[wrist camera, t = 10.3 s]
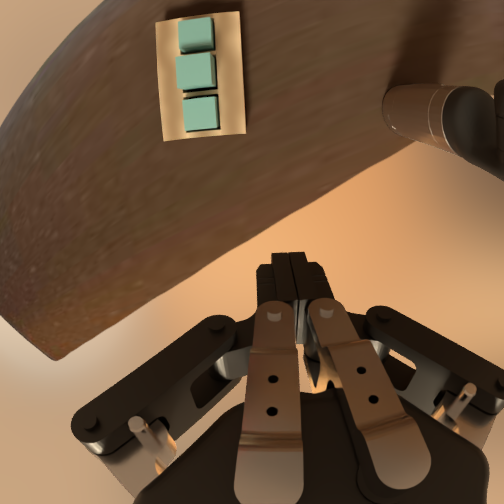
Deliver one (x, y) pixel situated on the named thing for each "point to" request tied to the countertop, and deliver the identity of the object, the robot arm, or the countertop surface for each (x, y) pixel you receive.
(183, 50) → the button
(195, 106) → the button
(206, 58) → the button middle
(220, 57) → the button board
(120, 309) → the countertop surface
